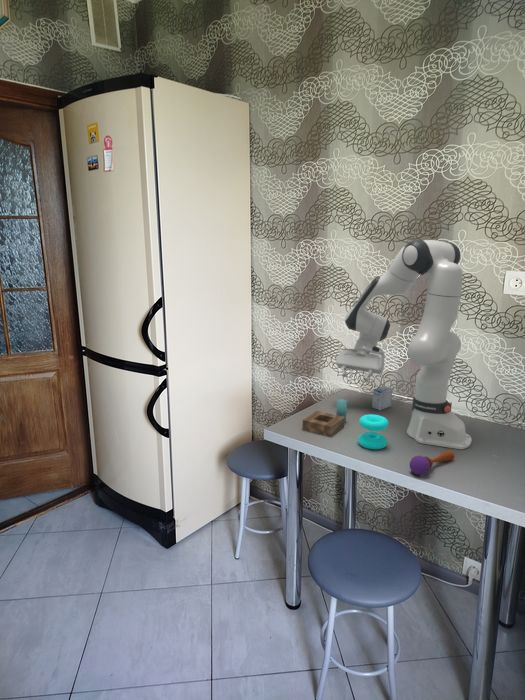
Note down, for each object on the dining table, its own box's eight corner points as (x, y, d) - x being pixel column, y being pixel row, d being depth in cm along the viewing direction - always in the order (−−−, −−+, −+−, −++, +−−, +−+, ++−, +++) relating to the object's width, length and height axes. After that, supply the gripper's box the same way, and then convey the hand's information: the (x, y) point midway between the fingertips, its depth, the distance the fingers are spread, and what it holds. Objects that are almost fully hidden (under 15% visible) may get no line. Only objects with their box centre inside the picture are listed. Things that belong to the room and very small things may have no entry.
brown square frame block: (343, 426, 180) (344, 416, 179) (331, 436, 170) (331, 426, 169) (316, 420, 186) (316, 410, 185) (302, 429, 176) (302, 419, 175)
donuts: (383, 425, 155) (355, 419, 160) (381, 453, 157) (353, 446, 162) (392, 416, 163) (365, 411, 168) (390, 443, 165) (363, 436, 170)
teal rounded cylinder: (347, 421, 185) (348, 400, 183) (343, 424, 182) (344, 402, 180) (338, 419, 187) (339, 398, 185) (334, 422, 184) (335, 400, 182)
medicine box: (382, 404, 206) (384, 385, 204) (391, 406, 203) (392, 388, 201) (371, 407, 201) (373, 388, 199) (380, 410, 198) (381, 391, 196)
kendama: (460, 452, 150) (425, 464, 138) (454, 467, 152) (419, 481, 140) (444, 442, 154) (408, 453, 142) (439, 457, 156) (403, 470, 144)
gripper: (339, 343, 200) (329, 370, 194) (386, 349, 190) (376, 378, 184) (343, 351, 205) (333, 377, 199) (388, 358, 194) (379, 386, 188)
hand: (354, 378), depth 191 cm, fingers open, 8 cm apart
